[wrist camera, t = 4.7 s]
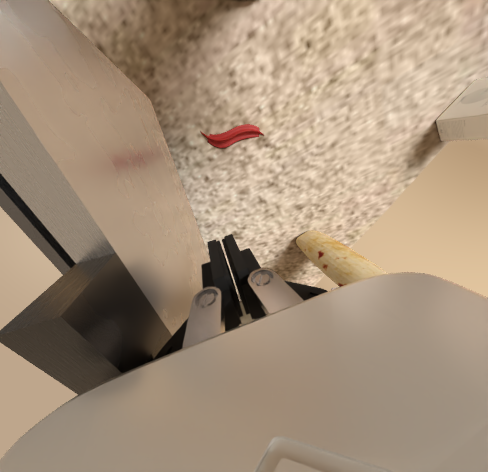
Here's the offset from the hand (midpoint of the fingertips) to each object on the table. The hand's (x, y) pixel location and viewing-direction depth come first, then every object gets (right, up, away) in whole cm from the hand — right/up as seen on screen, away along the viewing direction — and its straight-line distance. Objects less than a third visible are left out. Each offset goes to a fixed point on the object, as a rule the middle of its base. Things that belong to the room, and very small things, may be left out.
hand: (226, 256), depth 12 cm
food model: (+18, 0, +33) cm, 38 cm away
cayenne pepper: (-1, +19, +19) cm, 27 cm away
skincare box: (+49, +29, +28) cm, 64 cm away
